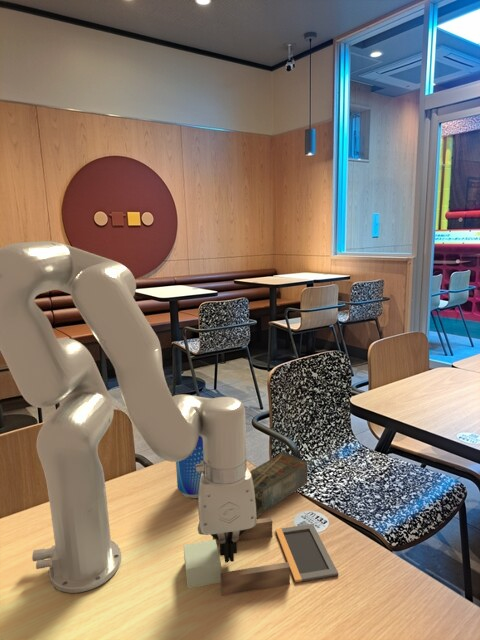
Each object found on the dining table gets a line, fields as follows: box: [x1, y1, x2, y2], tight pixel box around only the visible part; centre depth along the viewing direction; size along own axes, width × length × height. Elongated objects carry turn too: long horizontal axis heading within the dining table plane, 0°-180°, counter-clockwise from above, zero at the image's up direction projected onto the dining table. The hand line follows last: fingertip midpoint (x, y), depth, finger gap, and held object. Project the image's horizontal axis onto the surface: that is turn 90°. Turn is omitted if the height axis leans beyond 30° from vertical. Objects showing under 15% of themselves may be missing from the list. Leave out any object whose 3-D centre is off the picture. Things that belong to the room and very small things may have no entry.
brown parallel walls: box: [212, 517, 291, 596], centre depth 81 cm, size 12×13×4 cm
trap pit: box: [275, 523, 339, 584], centre depth 84 cm, size 8×13×1 cm, turn 10°
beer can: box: [175, 436, 204, 499], centre depth 103 cm, size 8×8×16 cm
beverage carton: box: [249, 451, 309, 517], centre depth 102 cm, size 8×19×7 cm, turn 132°
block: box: [183, 539, 222, 589], centre depth 79 cm, size 6×6×4 cm
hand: (228, 556), depth 81 cm, fingers closed
